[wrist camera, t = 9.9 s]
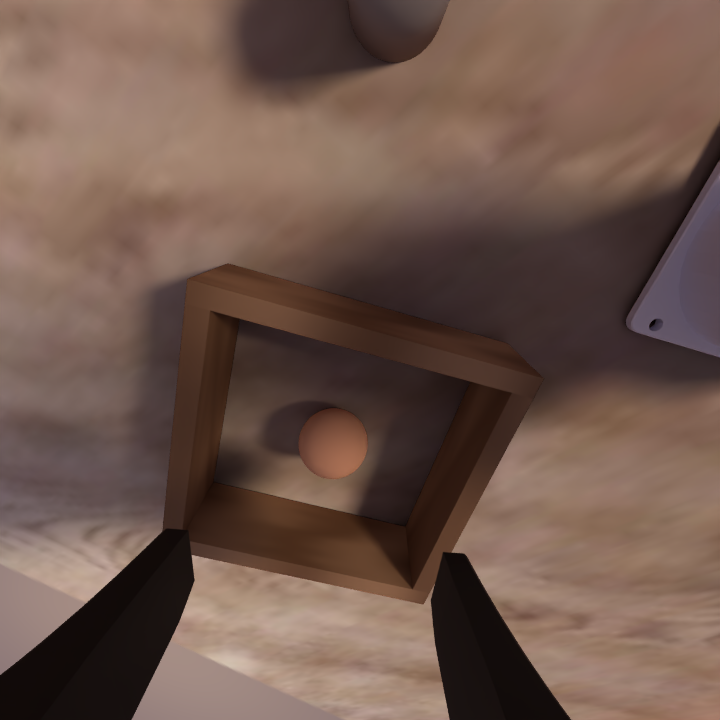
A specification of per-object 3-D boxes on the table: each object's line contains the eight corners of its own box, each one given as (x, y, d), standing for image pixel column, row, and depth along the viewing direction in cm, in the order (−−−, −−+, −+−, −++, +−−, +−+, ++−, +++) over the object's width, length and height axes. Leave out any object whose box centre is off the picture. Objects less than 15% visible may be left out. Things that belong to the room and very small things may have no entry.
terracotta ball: (375, 405, 17) (377, 444, 14) (357, 456, 18) (356, 501, 15) (312, 388, 16) (301, 425, 14) (298, 441, 18) (285, 485, 15)
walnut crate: (507, 343, 15) (544, 378, 12) (414, 540, 20) (423, 604, 17) (227, 263, 14) (187, 278, 11) (196, 490, 19) (160, 548, 16)
